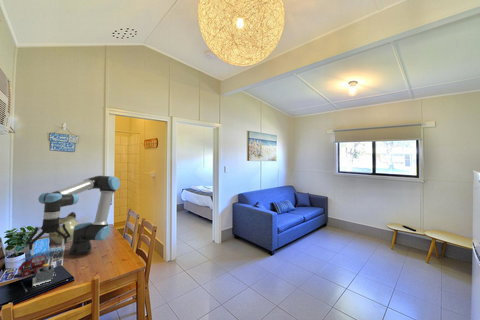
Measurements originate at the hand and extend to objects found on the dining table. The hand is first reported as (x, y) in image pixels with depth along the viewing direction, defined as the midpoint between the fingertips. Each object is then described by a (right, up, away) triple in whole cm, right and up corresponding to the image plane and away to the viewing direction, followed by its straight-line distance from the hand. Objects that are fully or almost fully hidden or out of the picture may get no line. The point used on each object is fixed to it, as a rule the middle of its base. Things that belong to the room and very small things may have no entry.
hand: (47, 251), depth 122 cm
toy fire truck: (-16, -17, +5) cm, 24 cm away
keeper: (-1, -18, -1) cm, 18 cm away
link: (-1, -17, -1) cm, 17 cm away
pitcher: (-43, -18, +58) cm, 75 cm away
